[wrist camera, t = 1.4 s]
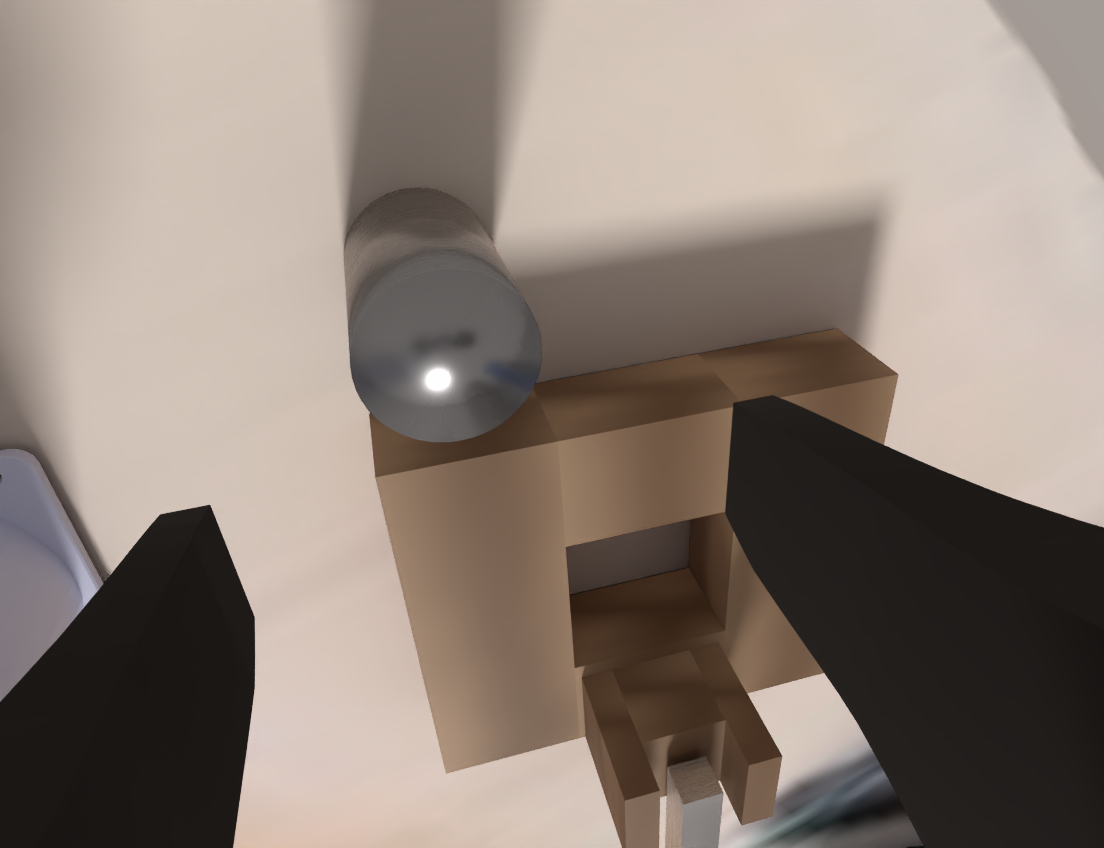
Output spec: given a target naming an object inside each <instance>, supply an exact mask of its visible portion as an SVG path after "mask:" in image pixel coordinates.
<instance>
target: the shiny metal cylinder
mask: <svg viewBox="0 0 1104 848" xmlns="http://www.w3.org/2000/svg"><path fill="white" fill-rule="evenodd" d="M344 270H345V287H346V303H347V319H348V335H349V351H350V367H351V373H352V379H353V382H354V385H355V388H356V391H357V393H358V395H359V397H360V399H361V400H362V402H363V403H364V405H365V406H366V408H367V409H368V410H369V411H370V412H371V413H372V414H373V416H374V417H375V418H377V419H378V420H379V421H380V422H381V423H383V424H384V425H385V426H387V427H389V428H390V429H392V430H393V431H396V432H398V433H400V434H402V435H404V436H407V437H410V438H413V439H418V440H423V441H429V442H453V441H460V440H465V439H469V438H473V437H476V436H478V435H481V434H484V433H486V432H488V431H490V430H492V429H494V428H495V427H497V426H499V425H500V424H502V423H503V422H505V421H506V420H507V419H508V418H510V417H511V416H512V415H513V414H514V413H515V412H516V411H517V410H518V409H519V408H520V407H521V406H522V404H523V403H524V402H525V400H526V399H527V398H528V396H529V394H530V393H531V391H532V389H533V387H534V385H535V383H536V380H537V378H538V375H539V371H540V367H541V360H542V343H541V337H540V332H539V329H538V326H537V323H536V321H535V319H534V317H533V315H532V313H531V311H530V309H529V307H528V306H527V304H526V302H525V300H524V298H523V297H522V295H521V293H520V291H519V289H518V288H517V286H516V284H515V282H514V281H513V279H512V277H511V275H510V273H509V272H508V270H507V268H506V266H505V264H504V263H503V261H502V259H501V257H500V256H499V254H498V252H497V250H496V248H495V247H494V245H493V243H492V241H491V239H490V238H489V236H488V234H487V232H486V231H485V229H484V227H483V225H482V224H481V222H480V221H479V219H478V218H477V216H476V215H475V214H474V213H473V212H472V211H471V209H469V208H468V207H467V206H466V205H465V204H464V203H462V202H461V201H459V200H458V199H456V198H454V197H452V196H450V195H448V194H446V193H443V192H440V191H437V190H432V189H427V188H407V189H402V190H397V191H394V192H391V193H389V194H386V195H384V196H382V197H380V198H378V199H377V200H375V201H374V202H373V203H371V204H370V205H369V206H368V207H367V208H365V209H364V210H363V211H362V213H361V214H360V215H359V216H358V217H357V219H356V220H355V222H354V224H353V225H352V227H351V229H350V231H349V234H348V236H347V240H346V244H345V250H344Z"/></svg>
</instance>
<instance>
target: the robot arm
mask: <svg viewBox="0 0 1104 848" xmlns="http://www.w3.org/2000/svg"><path fill="white" fill-rule="evenodd" d="M0 475H1V476H2V477H0V848H233V844H234V837H235V829H236V822H237V815H238V808H239V801H240V794H241V786H242V779H243V772H244V765H245V758H246V750H247V743H248V736H249V728H250V720H251V713H252V705H253V697H254V689H255V617H254V615H253V612H252V609H251V607H250V604H249V602H248V599H247V597H246V594H245V592H244V589H243V587H242V584H241V582H240V579H239V577H238V574H237V572H236V569H235V566H234V564H233V561H232V559H231V556H230V554H229V551H228V549H227V546H226V544H225V541H224V539H223V536H222V534H221V531H220V529H219V526H218V523H217V521H216V518H215V516H214V513H213V511H212V508H211V506H210V505H206V506H201V507H196V508H191V509H186V510H181V511H176V512H171V513H166V514H160V515H159V516H158V518H157V519H156V520H155V521H154V522H153V523H152V524H151V526H150V527H149V528H148V529H147V530H146V532H145V533H144V534H143V535H142V537H141V538H140V539H139V540H138V541H137V543H136V544H135V545H134V546H133V548H132V549H131V550H130V551H129V553H128V554H127V555H126V556H125V558H124V559H123V560H122V561H121V563H120V564H119V565H118V566H117V568H116V569H115V570H114V571H113V573H112V574H111V575H110V576H109V578H108V579H107V580H106V581H105V583H104V584H103V582H102V580H101V578H100V576H99V574H98V572H97V571H96V569H95V567H94V565H93V563H92V561H91V559H90V557H89V555H88V554H87V552H86V550H85V548H84V546H83V544H82V542H81V540H80V539H79V537H78V535H77V533H76V531H75V529H74V527H73V525H72V523H71V522H70V520H69V518H68V516H67V514H66V512H65V510H64V508H63V506H62V505H61V503H60V501H59V499H58V497H57V495H56V493H55V491H54V489H53V488H52V486H51V484H50V482H49V480H48V478H47V476H46V474H45V473H44V471H43V469H42V467H41V465H40V463H39V461H38V460H37V459H36V458H35V457H34V456H33V455H32V454H30V453H28V452H27V451H23V450H20V449H5V450H0ZM725 514H726V516H727V519H728V521H729V523H730V525H731V527H732V529H733V531H734V533H735V535H736V537H737V539H738V541H739V543H740V545H741V547H742V549H743V551H744V553H745V555H746V557H747V559H748V561H749V563H750V564H751V566H752V568H753V570H754V572H755V573H756V575H757V576H758V578H759V579H760V581H761V582H762V584H763V585H764V587H765V588H766V590H767V591H768V592H769V594H770V595H771V597H772V598H773V600H774V601H775V603H776V604H777V606H778V607H779V609H780V610H781V612H782V613H783V614H784V616H785V617H786V619H787V620H788V622H789V623H790V624H791V626H792V627H793V629H794V630H795V632H796V633H797V634H798V636H799V637H800V639H801V640H802V642H803V643H804V645H805V646H806V647H807V649H808V650H809V652H810V653H811V655H812V656H813V657H814V659H815V660H816V662H817V663H818V665H819V666H820V667H821V669H822V670H823V672H824V673H825V675H826V676H827V678H828V679H829V680H830V682H831V683H832V685H833V686H834V688H835V689H836V690H837V692H838V693H839V695H840V696H841V698H842V700H843V701H844V703H845V704H846V706H847V707H848V709H849V711H850V712H851V714H852V715H853V717H854V718H855V720H856V722H857V723H858V725H859V727H860V729H861V730H862V732H863V734H864V736H865V738H866V739H867V741H868V743H869V745H870V747H871V748H872V750H873V752H874V754H875V756H876V757H877V759H878V761H879V763H880V765H881V766H882V768H883V770H884V772H885V774H886V775H887V777H888V779H889V781H890V783H891V784H892V786H893V788H894V790H895V792H896V794H897V796H898V798H899V800H900V802H901V803H902V805H903V807H904V809H905V811H906V813H907V815H908V817H909V819H910V821H911V823H912V825H913V826H914V828H915V830H916V832H917V834H918V836H919V838H920V840H921V842H922V844H923V846H924V848H1104V528H1103V527H1100V526H1096V525H1093V524H1089V523H1086V522H1083V521H1079V520H1076V519H1073V518H1070V517H1067V516H1064V515H1061V514H1058V513H1055V512H1052V511H1049V510H1046V509H1043V508H1040V507H1037V506H1034V505H1031V504H1028V503H1025V502H1022V501H1019V500H1016V499H1013V498H1011V497H1008V496H1005V495H1002V494H1000V493H997V492H994V491H992V490H989V489H986V488H984V487H981V486H979V485H976V484H974V483H971V482H969V481H966V480H964V479H962V478H959V477H957V476H954V475H952V474H949V473H947V472H944V471H942V470H939V469H937V468H935V467H932V466H930V465H928V464H925V463H923V462H921V461H918V460H916V459H914V458H912V457H909V456H907V455H905V454H903V453H900V452H898V451H896V450H894V449H892V448H889V447H887V446H885V445H883V444H881V443H878V442H876V441H874V440H872V439H870V438H868V437H866V436H863V435H861V434H859V433H857V432H855V431H853V430H851V429H848V428H846V427H844V426H842V425H840V424H838V423H836V422H834V421H831V420H829V419H827V418H825V417H823V416H821V415H819V414H816V413H814V412H812V411H810V410H808V409H805V408H803V407H801V406H799V405H796V404H794V403H792V402H789V401H787V400H784V399H782V398H779V397H776V396H774V395H770V396H765V397H760V398H755V399H750V400H744V401H739V402H734V403H733V413H732V426H731V440H730V453H729V467H728V480H727V493H726V507H725Z"/></svg>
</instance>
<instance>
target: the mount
mask: <svg viewBox="0 0 1104 848" xmlns="http://www.w3.org/2000/svg"><path fill="white" fill-rule="evenodd" d="M897 379H898V374H897V373H896V372H895V371H893V370H892V369H891V368H889V367H888V366H887V365H885V364H884V363H883V362H881V361H880V360H879V359H877V358H876V357H875V356H873V355H872V354H871V353H869V352H868V351H867V350H865V349H864V348H863V347H861V346H860V345H859V344H857V343H856V342H855V341H853V340H852V339H851V338H849V337H848V336H847V335H845V334H844V333H843V332H841V331H840V330H839V329H831V330H826V331H820V332H815V333H809V334H804V335H798V336H793V337H787V338H782V339H776V340H771V341H766V342H760V343H755V344H749V345H744V346H738V347H733V348H727V349H722V350H716V351H711V352H705V353H700V354H694V355H689V356H683V357H678V358H673V359H667V360H662V361H656V362H651V363H645V364H640V365H634V366H629V367H623V368H618V369H612V370H607V371H601V372H596V373H590V374H585V375H580V376H574V377H569V378H563V379H558V380H552V381H547V382H541V383H536V384H535V385H534V387H533V389H532V391H531V393H530V394H529V396H528V398H527V399H526V400H525V402H524V403H523V404H522V406H521V407H520V408H519V409H518V410H517V411H516V412H515V413H514V414H513V415H512V416H511V417H510V418H508V419H507V420H506V421H505V422H503V423H502V424H500V425H499V426H497V427H495V428H494V429H492V430H490V431H488V432H486V433H484V434H481V435H478V436H476V437H473V438H469V439H465V440H460V441H453V442H429V441H423V440H418V439H413V438H410V437H407V436H404V435H402V434H400V433H398V432H396V431H393V430H392V429H390V428H389V427H387V426H385V425H384V424H383V423H381V422H380V421H379V420H378V419H377V418H375V417H374V416H373V414H369V416H370V426H371V436H372V447H373V457H374V467H375V478H376V482H377V486H378V490H379V494H380V499H381V503H382V507H383V511H384V515H385V520H386V524H387V528H388V532H389V536H390V540H391V545H392V549H393V553H394V557H395V561H396V566H397V570H398V574H399V578H400V582H401V587H402V591H403V595H404V599H405V603H406V608H407V612H408V616H409V620H410V624H411V629H412V633H413V637H414V641H415V645H416V649H417V654H418V658H419V662H420V666H421V670H422V675H423V679H424V683H425V687H426V691H427V696H428V700H429V704H430V708H431V712H432V717H433V721H434V725H435V729H436V733H437V737H438V742H439V746H440V750H441V754H442V758H443V763H444V767H445V771H446V773H450V772H454V771H457V770H461V769H465V768H469V767H472V766H476V765H480V764H484V763H487V762H491V761H495V760H499V759H502V758H506V757H510V756H514V755H517V754H521V753H525V752H529V751H532V750H536V749H540V748H544V747H547V746H551V745H555V744H559V743H562V742H566V741H570V740H574V739H577V738H581V737H585V736H586V739H587V742H588V745H589V748H590V751H591V754H592V757H593V760H594V763H595V767H596V770H597V773H598V776H599V779H600V782H601V785H602V788H603V791H604V794H605V797H606V800H607V803H608V806H609V809H610V812H611V815H612V818H613V821H614V824H615V827H616V830H617V833H618V836H619V839H620V842H621V845H622V848H659V819H660V797H663V796H666V795H667V767H668V766H672V765H675V764H679V763H683V762H686V761H690V760H693V759H697V758H701V757H704V756H706V757H707V759H708V761H709V764H710V766H711V768H712V770H713V772H714V774H715V776H716V779H717V781H719V780H720V781H721V783H722V785H723V787H724V790H725V792H726V794H727V796H728V798H729V800H730V802H731V804H732V806H733V809H734V811H735V813H736V815H737V817H738V819H739V821H740V823H741V825H745V824H748V823H751V822H755V821H758V820H762V819H765V818H768V817H772V816H773V810H774V803H775V797H776V791H777V785H778V779H779V773H780V767H781V761H782V755H781V753H780V751H779V749H778V748H777V746H776V744H775V742H774V741H773V739H772V737H771V735H770V733H769V732H768V730H767V728H766V726H765V725H764V723H763V721H762V719H761V717H760V716H759V714H758V712H757V710H756V709H755V707H754V705H753V703H752V701H751V700H750V698H749V696H748V694H747V693H750V692H754V691H758V690H761V689H765V688H769V687H773V686H776V685H780V684H784V683H788V682H791V681H795V680H799V679H803V678H806V677H810V676H814V675H818V674H821V673H824V672H823V670H822V669H821V667H820V666H819V665H818V663H817V662H816V660H815V659H814V657H813V656H812V655H811V653H810V652H809V650H808V649H807V647H806V646H805V645H804V643H803V642H802V640H801V639H800V637H799V636H798V634H797V633H796V632H795V630H794V629H793V627H792V626H791V624H790V623H789V622H788V620H787V619H786V617H785V616H784V614H783V613H782V612H781V610H780V609H779V607H778V606H777V604H776V603H775V601H774V600H773V598H772V597H771V595H770V594H769V592H768V591H767V590H766V588H765V587H764V585H763V584H762V582H761V581H760V579H759V578H758V576H757V575H756V573H755V572H754V570H753V568H752V566H751V564H750V563H749V561H748V559H747V557H746V555H745V553H744V551H743V549H742V547H741V545H740V543H739V541H738V539H737V537H736V535H735V533H734V531H733V529H732V527H731V525H730V523H729V521H728V519H727V516H726V514H725V507H726V493H727V480H728V467H729V453H730V440H731V426H732V413H733V403H734V402H739V401H744V400H750V399H755V398H760V397H765V396H770V395H774V396H776V397H779V398H782V399H784V400H787V401H789V402H792V403H794V404H796V405H799V406H801V407H803V408H805V409H808V410H810V411H812V412H814V413H816V414H819V415H821V416H823V417H825V418H827V419H829V420H831V421H834V422H836V423H838V424H840V425H842V426H844V427H846V428H848V429H851V430H853V431H855V432H857V433H859V434H861V435H863V436H866V437H868V438H870V439H872V440H874V441H876V442H878V443H881V444H883V445H884V442H885V437H886V432H887V427H888V422H889V417H890V413H891V408H892V403H893V398H894V393H895V388H896V384H897ZM690 519H691V522H690V545H689V568H686V569H681V570H677V571H673V572H669V573H664V574H660V575H656V576H651V577H647V578H643V579H639V580H634V581H630V582H626V583H621V584H617V585H613V586H609V587H604V588H600V589H596V590H591V591H587V592H583V593H579V594H574V595H570V596H569V586H568V572H567V559H566V547H568V546H573V545H577V544H582V543H586V542H591V541H595V540H600V539H604V538H609V537H613V536H618V535H622V534H627V533H631V532H636V531H640V530H645V529H649V528H654V527H658V526H663V525H667V524H672V523H676V522H681V521H685V520H690Z"/></svg>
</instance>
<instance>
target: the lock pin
mask: <svg viewBox="0 0 1104 848" xmlns="http://www.w3.org/2000/svg"><path fill="white" fill-rule="evenodd" d="M722 802H723V791H722V789H721V787H720V785H719V783H718V781H717V779H716V776H715V774H714V772H713V770H712V768H711V766H710V764H709V761H708V759H707V757H706V756H704V757H701V758H697V759H693V760H690V761H686V762H683V763H679V764H675V765H672V766H668V767H667V803H666V838H665V848H718V843H719V833H720V822H721V812H722Z"/></svg>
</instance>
